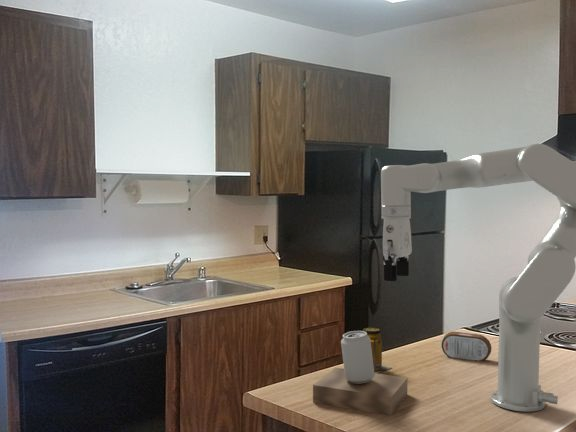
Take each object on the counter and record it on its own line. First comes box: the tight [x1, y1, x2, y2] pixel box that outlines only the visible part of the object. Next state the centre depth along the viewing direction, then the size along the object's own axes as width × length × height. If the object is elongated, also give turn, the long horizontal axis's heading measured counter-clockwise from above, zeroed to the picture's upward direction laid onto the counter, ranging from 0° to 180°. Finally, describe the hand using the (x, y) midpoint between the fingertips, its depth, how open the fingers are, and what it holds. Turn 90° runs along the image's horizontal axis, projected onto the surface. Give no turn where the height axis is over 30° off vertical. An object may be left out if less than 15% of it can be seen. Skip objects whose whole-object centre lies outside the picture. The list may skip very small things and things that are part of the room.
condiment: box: [362, 327, 392, 374], centre depth 178 cm, size 7×8×12 cm
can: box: [340, 330, 374, 384], centre depth 153 cm, size 8×8×12 cm
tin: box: [441, 331, 492, 362], centre depth 188 cm, size 15×3×8 cm, turn 65°
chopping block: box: [312, 367, 409, 417], centre depth 153 cm, size 20×16×5 cm
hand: (396, 278), depth 157 cm, fingers open, 9 cm apart
